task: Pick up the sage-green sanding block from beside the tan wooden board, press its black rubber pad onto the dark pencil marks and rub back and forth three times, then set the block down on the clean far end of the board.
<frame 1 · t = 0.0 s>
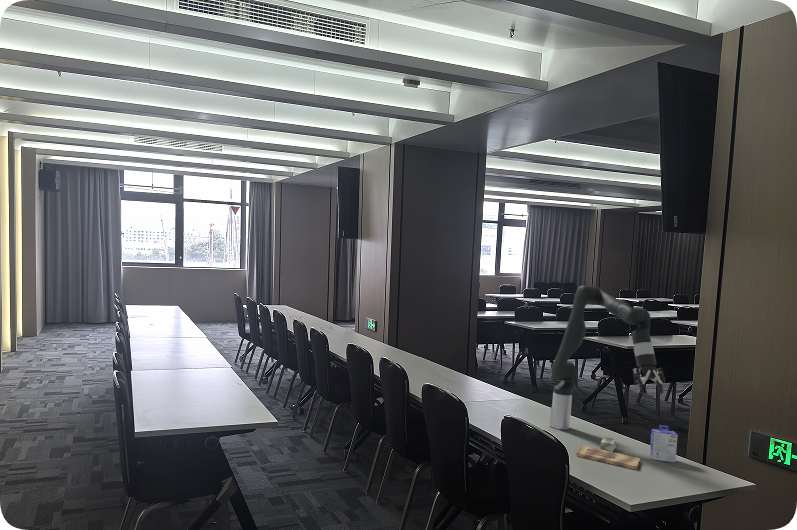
hand: (652, 394, 225), 31 cm above the table, tool tilted 20°, fingers open, 8 cm apart
tan wooden board: (607, 458, 236), on the table
sanding block: (607, 450, 248), on the table
ink cartridge box: (662, 459, 241), on the table
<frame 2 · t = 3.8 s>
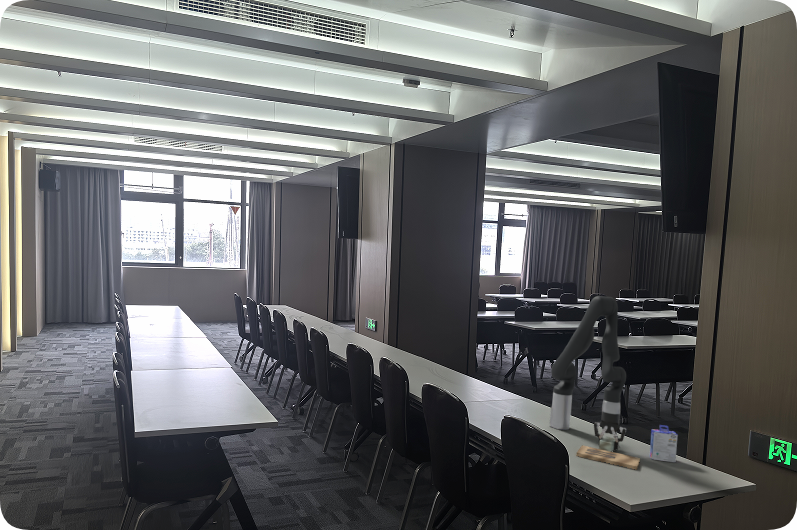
hand: (608, 448, 248), 1 cm above the table, tool pointing down, fingers closed on sanding block, 5 cm apart
sanding block: (608, 449, 248), on the table, touching gripper
everything else where it was.
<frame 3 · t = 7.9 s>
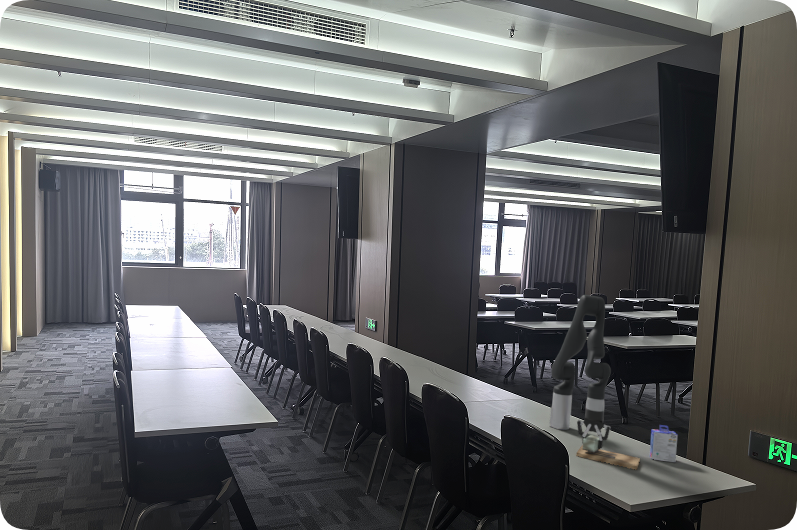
hand: (592, 446, 239), 4 cm above the table, tool pointing down, fingers closed on sanding block, 5 cm apart
sanding block: (592, 448, 239), point 3 cm above the table, touching gripper
everything else where it was.
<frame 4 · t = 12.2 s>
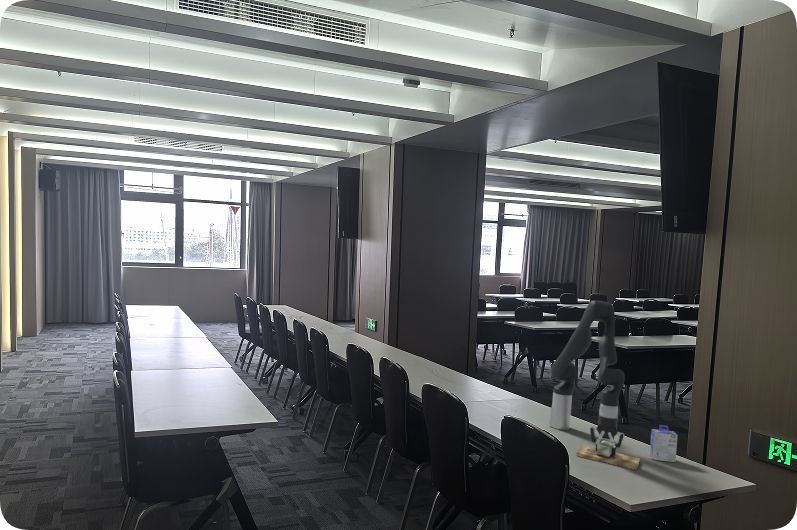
hand: (605, 453, 237), 2 cm above the table, tool pointing down, fingers closed on sanding block, 5 cm apart
sanding block: (605, 454, 237), point 2 cm above the table, touching gripper
everything else where it was.
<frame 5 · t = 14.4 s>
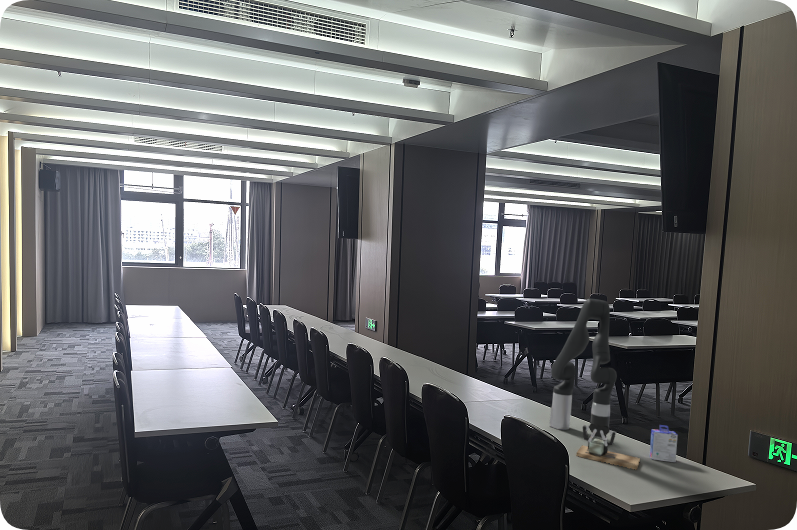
hand: (597, 452, 238), 2 cm above the table, tool pointing down, fingers closed on sanding block, 5 cm apart
sanding block: (597, 452, 238), point 2 cm above the table, touching gripper
everything else where it was.
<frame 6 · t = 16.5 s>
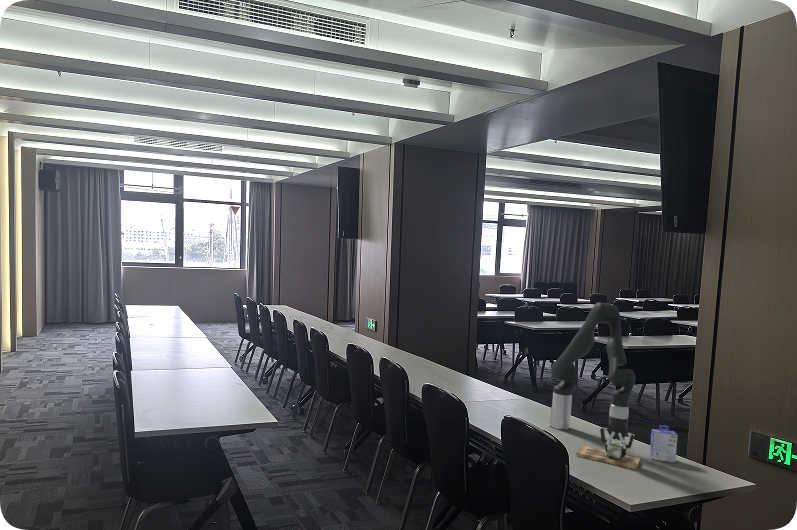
hand: (615, 454, 234), 2 cm above the table, tool pointing down, fingers closed on sanding block, 5 cm apart
sanding block: (615, 455, 235), point 2 cm above the table, touching gripper
everything else where it was.
when the fingers open (3 cm above the table, at t = 20.7 s): sanding block drops 1 cm, resting on tan wooden board.
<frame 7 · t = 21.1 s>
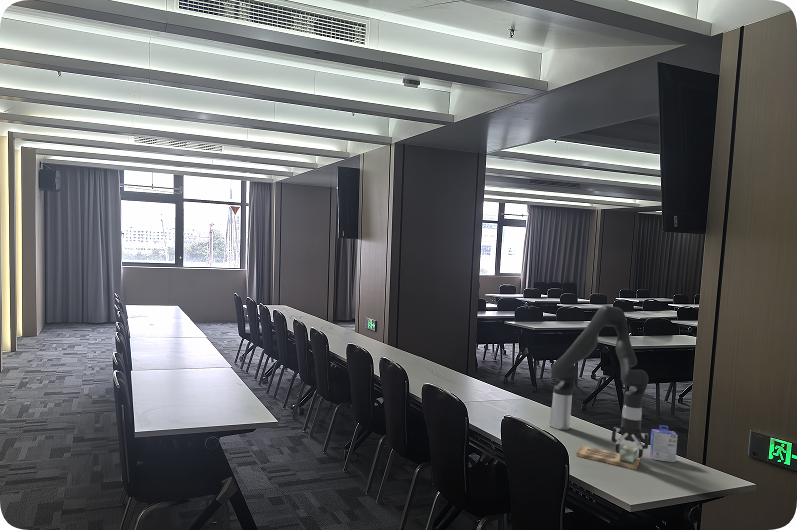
hand: (628, 455, 232), 4 cm above the table, tool pointing down, fingers open, 8 cm apart
sanding block: (628, 459, 232), point 1 cm above the table, touching tan wooden board
everything else where it was.
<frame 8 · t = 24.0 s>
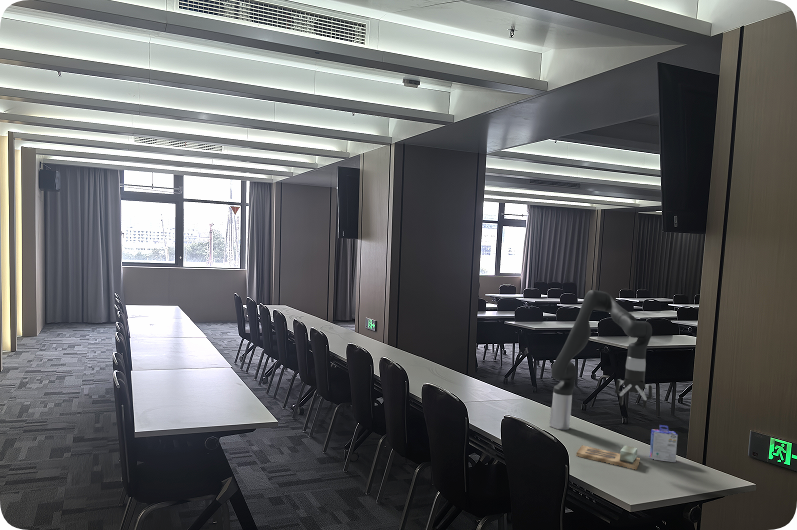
hand: (632, 406, 232), 24 cm above the table, tool pointing down, fingers open, 8 cm apart
nothing on the table moved.
at the end: sanding block inside the target area (0.3 cm from its centre), point 1.5 cm above the table; sanding block tilted 0°; the gripper is holding nothing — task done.
